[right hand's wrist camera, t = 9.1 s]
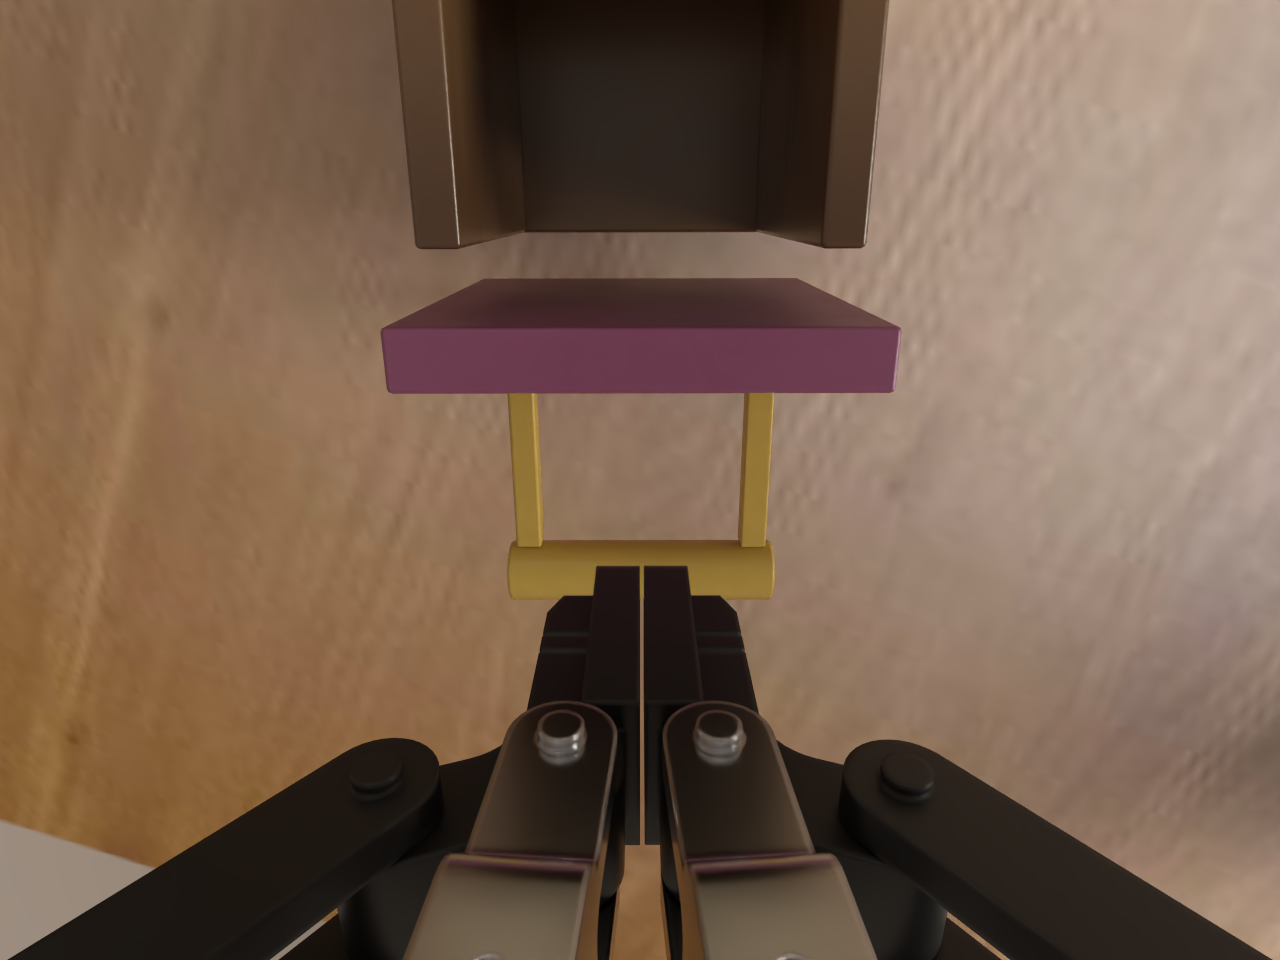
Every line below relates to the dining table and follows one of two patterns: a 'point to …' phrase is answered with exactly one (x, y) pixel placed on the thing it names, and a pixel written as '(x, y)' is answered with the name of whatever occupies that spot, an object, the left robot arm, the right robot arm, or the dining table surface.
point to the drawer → (640, 226)
